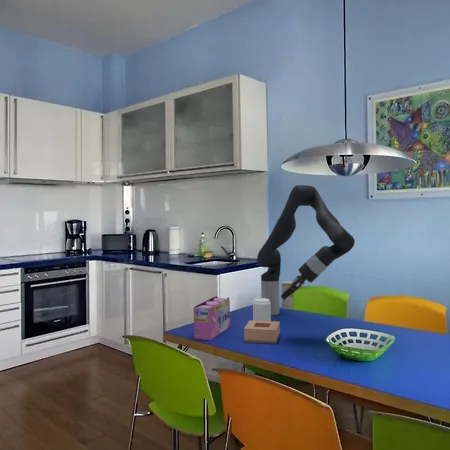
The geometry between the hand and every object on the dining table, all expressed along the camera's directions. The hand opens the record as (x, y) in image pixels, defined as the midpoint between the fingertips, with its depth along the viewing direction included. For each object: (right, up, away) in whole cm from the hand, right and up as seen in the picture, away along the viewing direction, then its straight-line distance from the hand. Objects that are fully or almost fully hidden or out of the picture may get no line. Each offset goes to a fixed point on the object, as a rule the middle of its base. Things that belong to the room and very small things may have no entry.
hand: (283, 296), depth 175 cm
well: (-8, -18, +2) cm, 20 cm away
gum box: (-29, -18, +12) cm, 36 cm away
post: (+2, -4, 0) cm, 5 cm away
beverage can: (-7, -17, +22) cm, 28 cm away
